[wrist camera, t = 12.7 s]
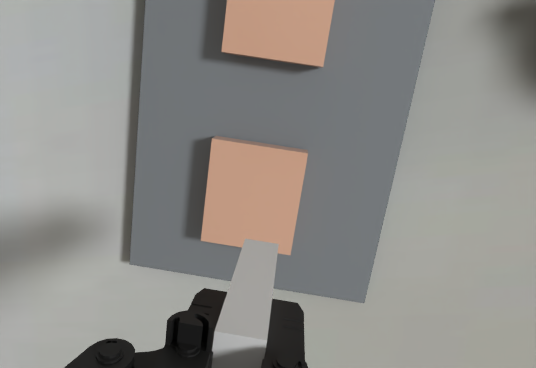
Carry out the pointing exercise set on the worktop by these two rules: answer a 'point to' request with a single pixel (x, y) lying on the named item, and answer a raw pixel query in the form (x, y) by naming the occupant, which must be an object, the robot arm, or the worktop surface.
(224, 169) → the tile
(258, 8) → the tile
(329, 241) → the mat
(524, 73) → the worktop surface
